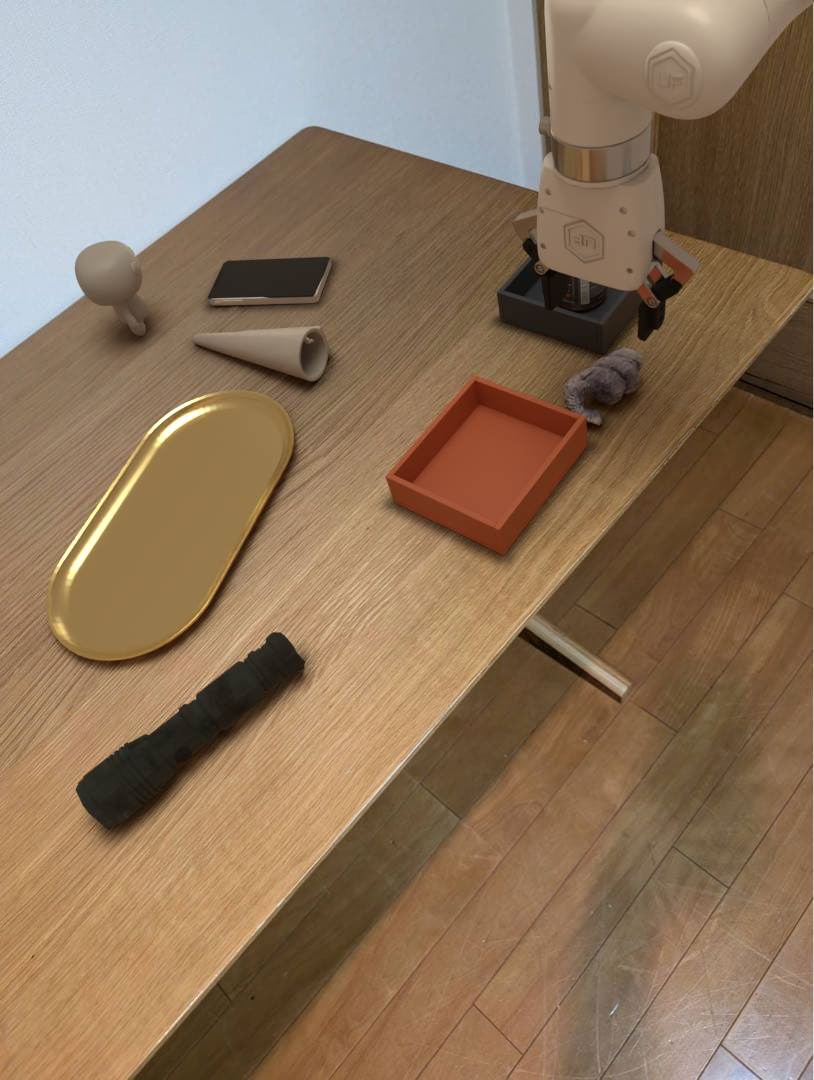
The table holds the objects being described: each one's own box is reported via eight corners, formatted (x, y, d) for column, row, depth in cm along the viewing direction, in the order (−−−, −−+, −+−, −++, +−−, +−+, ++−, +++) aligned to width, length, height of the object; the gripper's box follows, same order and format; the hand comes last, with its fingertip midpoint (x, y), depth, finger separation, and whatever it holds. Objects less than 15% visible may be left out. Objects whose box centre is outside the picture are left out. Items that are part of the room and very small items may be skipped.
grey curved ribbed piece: (580, 438, 87) (636, 380, 90) (608, 422, 82) (666, 361, 85) (545, 400, 86) (603, 343, 90) (571, 381, 81) (631, 321, 85)
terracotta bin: (587, 445, 84) (586, 416, 81) (503, 555, 79) (499, 530, 76) (478, 402, 91) (473, 374, 88) (393, 502, 85) (384, 476, 82)
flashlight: (94, 795, 73) (64, 775, 69) (285, 642, 78) (267, 615, 74) (119, 839, 70) (90, 820, 66) (316, 677, 75) (299, 651, 71)
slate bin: (662, 280, 96) (663, 249, 93) (602, 354, 91) (602, 325, 88) (560, 252, 102) (558, 223, 99) (500, 320, 98) (496, 292, 94)
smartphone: (315, 297, 105) (205, 300, 109) (318, 305, 106) (209, 307, 110) (330, 255, 110) (224, 259, 113) (333, 263, 111) (228, 267, 114)
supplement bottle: (543, 296, 98) (536, 209, 89) (585, 272, 99) (582, 184, 90) (575, 322, 94) (571, 234, 85) (618, 296, 95) (619, 207, 86)
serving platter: (18, 641, 84) (9, 633, 83) (187, 390, 101) (181, 380, 100) (172, 688, 78) (164, 680, 76) (325, 410, 95) (321, 401, 94)
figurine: (174, 335, 108) (131, 256, 99) (119, 358, 108) (70, 281, 98) (162, 301, 113) (120, 222, 103) (109, 323, 113) (62, 246, 103)
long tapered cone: (158, 346, 101) (292, 350, 92) (187, 315, 104) (318, 316, 96) (179, 385, 105) (309, 392, 96) (206, 354, 108) (334, 358, 100)
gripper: (481, 148, 68) (501, 314, 82) (683, 195, 60) (668, 370, 74) (531, 99, 71) (543, 268, 85) (730, 137, 63) (708, 317, 77)
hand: (601, 315), depth 79 cm, fingers open, 9 cm apart
